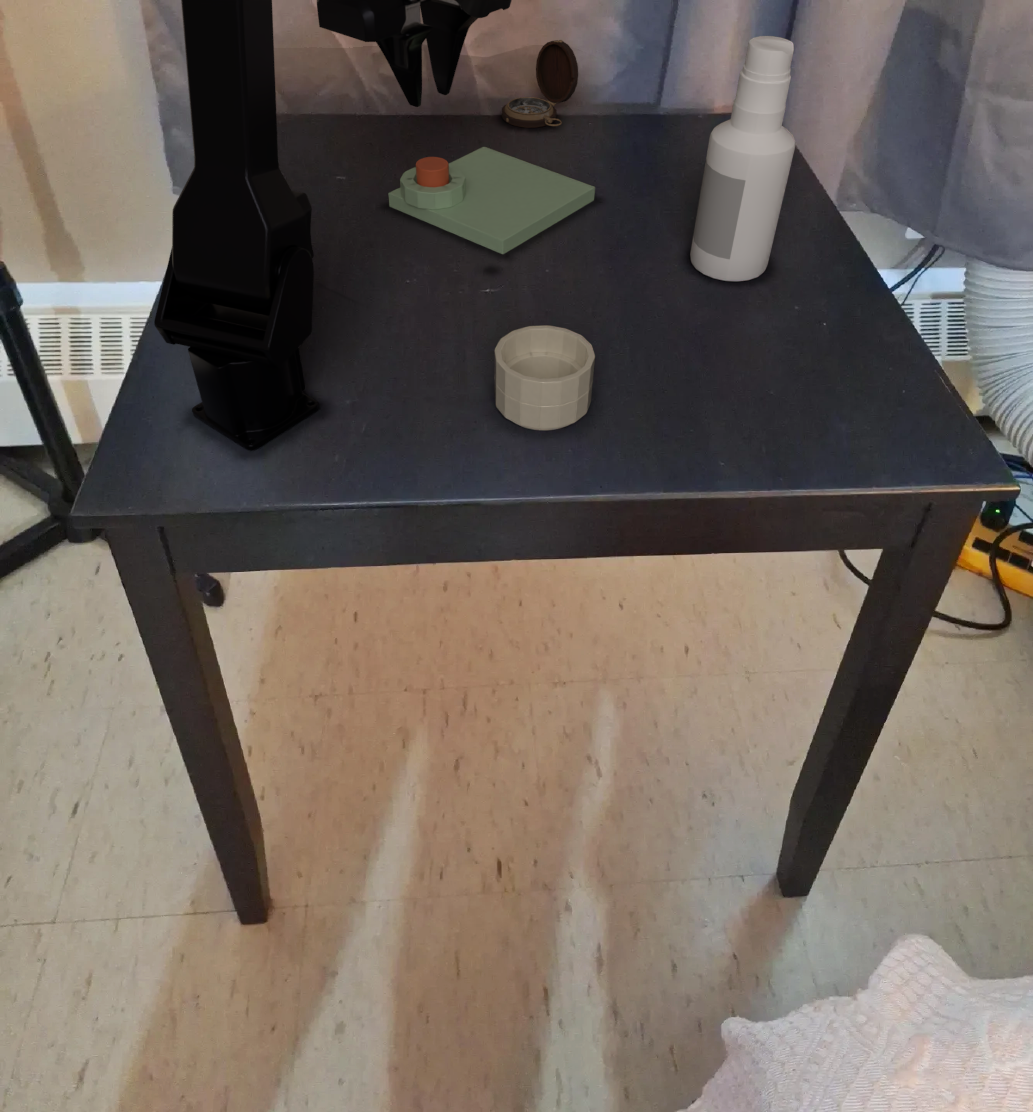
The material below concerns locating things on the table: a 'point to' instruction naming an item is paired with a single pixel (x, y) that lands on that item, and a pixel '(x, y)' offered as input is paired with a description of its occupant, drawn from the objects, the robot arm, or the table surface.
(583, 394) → the bowl
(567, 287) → the table surface
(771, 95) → the white bottle
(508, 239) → the scale
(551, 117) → the compass
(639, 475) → the table surface
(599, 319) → the table surface
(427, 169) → the button
